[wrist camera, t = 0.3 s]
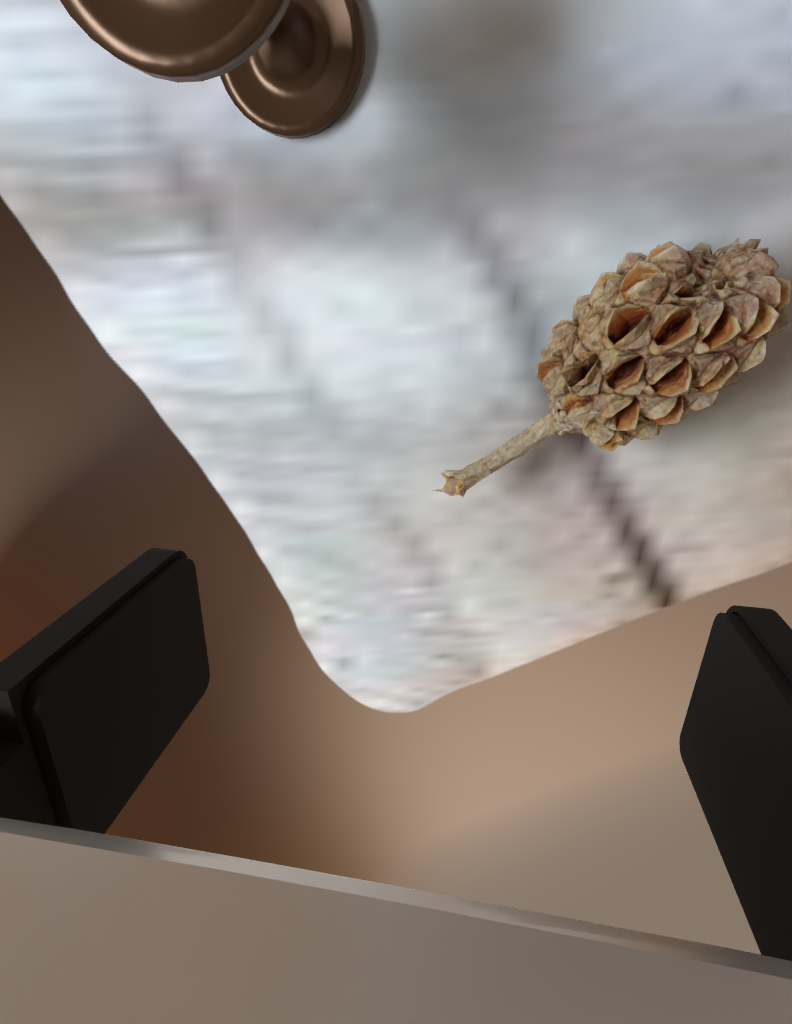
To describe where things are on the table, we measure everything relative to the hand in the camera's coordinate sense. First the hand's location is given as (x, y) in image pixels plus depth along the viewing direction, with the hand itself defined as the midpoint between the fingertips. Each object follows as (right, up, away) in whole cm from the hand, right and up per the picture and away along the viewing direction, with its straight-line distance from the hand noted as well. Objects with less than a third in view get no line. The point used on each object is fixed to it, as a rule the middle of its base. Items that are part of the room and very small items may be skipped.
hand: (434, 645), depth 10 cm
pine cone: (+12, +11, +27) cm, 32 cm away
